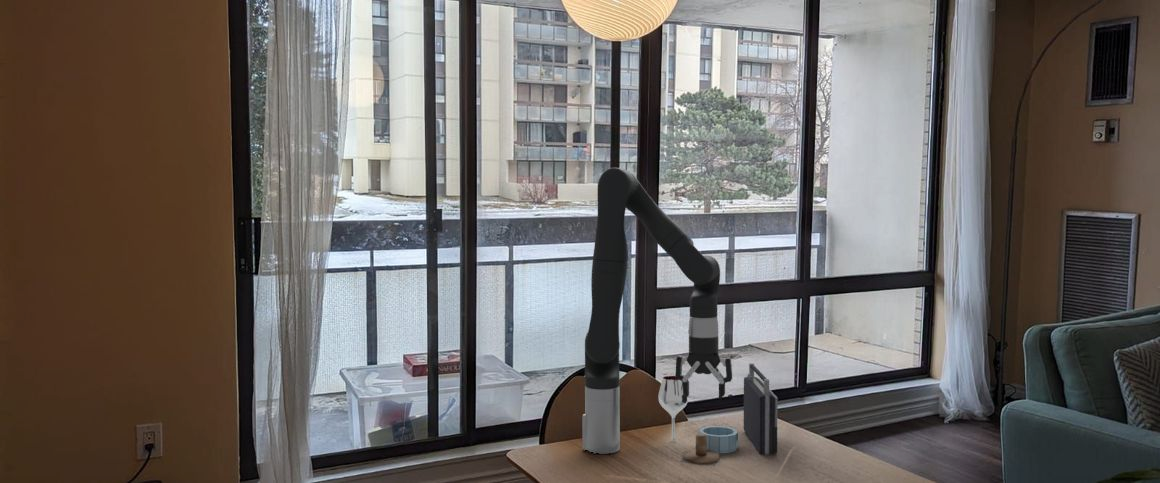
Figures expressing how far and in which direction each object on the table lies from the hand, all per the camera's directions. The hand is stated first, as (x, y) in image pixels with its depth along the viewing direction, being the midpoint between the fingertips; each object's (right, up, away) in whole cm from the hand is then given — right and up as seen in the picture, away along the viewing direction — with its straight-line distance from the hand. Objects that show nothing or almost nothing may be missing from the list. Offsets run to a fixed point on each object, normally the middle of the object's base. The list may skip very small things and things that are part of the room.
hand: (703, 396), depth 218 cm
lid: (-1, -16, 0) cm, 16 cm away
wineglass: (-6, -16, +16) cm, 24 cm away
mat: (-1, -16, 0) cm, 16 cm away
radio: (+18, -16, +16) cm, 29 cm away
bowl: (+5, -16, +10) cm, 19 cm away
